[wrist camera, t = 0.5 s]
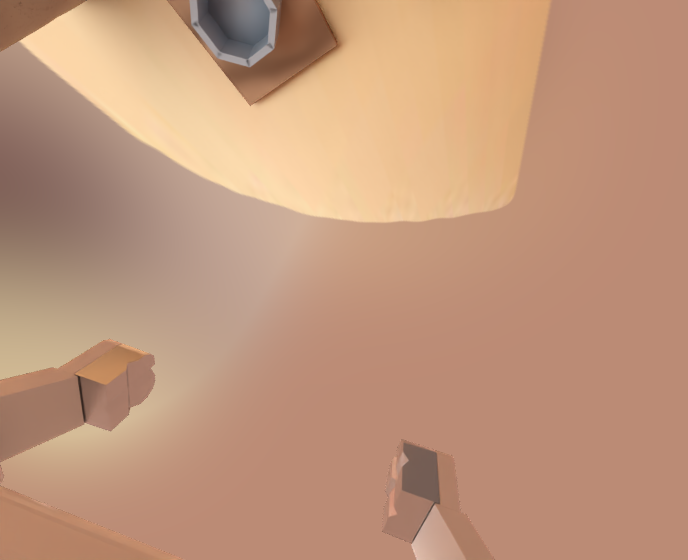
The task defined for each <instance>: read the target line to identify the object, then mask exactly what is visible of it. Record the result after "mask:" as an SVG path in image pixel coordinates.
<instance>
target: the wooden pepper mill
mask: <svg viewBox="0 0 688 560" xmlns="http://www.w3.org/2000/svg"><path fill="white" fill-rule="evenodd" d="M85 1H87V0H0V52H1V51H2V50H4V49H6V48H8V47H9V46H11V45H12V44H14V43H16V42H18V41H19V40H21V39H23V38H24V37H26V36H28V35H29V34H31V33H33V32H35V31H36V30H38V29H40V28H41V27H43V26H45V25H46V24H48V23H49V22H51V21H52V20H54V19H55V18H57V17H58V16H60V15H62V14H64V13H66V12H68V11H70V10H71V9H73V8H75V7H77V6H78V5H80V4H82V3H83V2H85Z"/></svg>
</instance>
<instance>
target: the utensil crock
mask: <svg viewBox="0 0 688 560" xmlns="http://www.w3.org/2000/svg"><path fill="white" fill-rule="evenodd" d="M189 1H190V13H191V25H192V26H193V28H194V29H195V30H196V32H197V33H198V34H199V35H200V37H201V38H202V39H203V41H204V42H205V43H206V44H207V46H208V47H209V48H210V49H211V51H212V52H213V53H214V55H215V56H216V57H217V58H218V59H221V60H225V61H229V62H232V63H236V64H240V65H243V66H247V67H251V66H252V65H254V64H255V63H256V62H258V61H259V60H260V59H262V58H263V57H264V56H265V55H267V54H268V53H269V52H271V51H272V50H273V49H274V48H275V44H276V41H277V38H278V35H279V27H280V16H281V5H282V0H189Z"/></svg>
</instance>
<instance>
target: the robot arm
mask: <svg viewBox="0 0 688 560" xmlns="http://www.w3.org/2000/svg"><path fill="white" fill-rule="evenodd" d="M154 364H155V361H154V356H153V355H151V354H149V353H147V352H144V351H141V350H139V349H136V348H133V347H130V346H128V345H125V344H122V343H119V342H116V341H113V340H111V339H108V340H103V341H102V342H100V343H98V344H97V345H95V346H93V347H92V348H90V349H89V350H87V351H85V352H84V353H82V354H81V355H79V356H77V357H76V358H74V359H72V360H71V361H69V362H68V363H66V364H64V365H63V366H61V367H59V368H58V369H56V368H48V369H44V370H40V371H36V372H31V373H27V374H23V375H19V376H15V377H10V378H6V379H2V380H0V462H2V461H4V460H6V459H8V458H11V457H13V456H15V455H17V454H19V453H22V452H24V451H26V450H28V449H31V448H33V447H35V446H37V445H40V444H42V443H44V442H46V441H48V440H50V439H53V438H55V437H57V436H59V435H62V434H64V433H66V432H68V431H71V430H73V429H75V428H77V427H79V426H81V425H84V423H87V424H90V425H93V426H96V427H99V428H102V429H105V430H108V431H112V430H113V429H114V428H115V427H116V426H117V425H118V424H119V423H120V422H121V421H122V420H124V419H125V418H126V417H127V416H128V415H129V410H130V407H133V406H136V405H139V404H141V403H142V402H143V401H144V400H145V399H146V398H147V397H148V395H149V394H150V392H151V390H152V389H153V386H154V382H155V375H154V373H153V371H152V370H151V367H152V366H153V365H154ZM3 478H4V475H3V472H2V468H1V465H0V483H1V482H2V481H3ZM385 492H386V494H387V496H388V499H387V501H386V503H385V506H384V512H383V524H382V532H384V533H387V534H389V535H392V536H394V537H396V538H399V539H402V540H404V541H407V542H409V543H411V544H412V548H413V551H414V554H415V556H416V559H417V560H495V559H494V557H493V556H492V554H491V553H490V551H489V549H488V548H487V546H486V545H485V543H484V541H483V540H482V538H481V537H480V535H479V534H478V532H477V530H476V529H475V527H474V526H473V524H472V523H471V521H470V519H469V518H468V516H467V515H466V514H464V513H461V509H460V501H459V493H458V485H457V478H456V470H455V463H454V458H453V456H452V455H449V454H445V453H443V452H440V451H436V450H434V449H430V448H428V447H425V446H421V445H419V444H416V443H412V442H409V441H406V440H403V439H402V440H401V441H400V443H399V445H398V447H397V456H395V457H393V459H392V461H391V464H390V467H389V471H388V475H387V481H386V489H385ZM0 560H185V559H182V558H180V557H177V556H175V555H172V554H170V553H167V552H165V551H162V550H160V549H157V548H155V547H152V546H150V545H147V544H145V543H142V542H140V541H137V540H135V539H132V538H130V537H127V536H125V535H122V534H119V533H117V532H115V531H112V530H110V529H107V528H105V527H102V526H100V525H97V524H95V523H92V522H90V521H87V520H85V519H82V518H80V517H77V516H75V515H72V514H70V513H67V512H65V511H62V510H60V509H57V508H55V507H52V506H50V505H47V504H45V503H42V502H40V501H37V500H35V499H32V498H30V497H27V496H25V495H22V494H20V493H17V492H15V491H12V490H10V489H7V488H5V487H2V486H0Z"/></svg>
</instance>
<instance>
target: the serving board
mask: <svg viewBox="0 0 688 560" xmlns="http://www.w3.org/2000/svg"><path fill="white" fill-rule="evenodd" d="M167 1H168V2H169V3H170V5H171V6H172V7H173V8H174V10H175V11H176V12H177V14H178V15H179V16H180V17H181V19H182V20H183V21H184V22H185V24H186V25H187V26H188V28H189V29H190V30H191V31H192V33H193V34H194V35H195V36H196V38H197V39H198V40H199V41H200V43H201V44H202V45H203V47H204V48H205V49H206V50H207V52H208V53H209V54H210V55H211V57H212V58H213V59H214V60H215V62H216V63H217V64H218V66H219V67H220V68H221V69H222V71H223V72H224V73H225V74H226V76H227V77H228V78H229V80H230V81H231V82H232V83H233V85H234V86H235V87H236V88H237V90H238V91H239V92H240V93H241V95H242V96H243V97H244V99H245V100H246V101H247V102H248V104H249V105H250V106H251V105H252V104H253V103H255V102H256V101H258V100H259V99H261V98H262V97H263V96H265V95H266V94H268V93H269V92H271V91H272V90H274V89H275V88H276V87H278V86H279V85H281V84H282V83H284V82H285V81H286V80H288V79H289V78H291V77H292V76H294V75H295V74H297V73H298V72H299V71H301V70H302V69H304V68H305V67H307V66H308V65H309V64H311V63H312V62H314V61H315V60H317V59H318V58H320V57H321V56H322V55H324V54H325V53H327V52H328V51H330V50H331V49H333V48H334V47H335V46H337V41H336V39H335V37H334V35H333V33H332V31H331V29H330V27H329V25H328V23H327V21H326V19H325V17H324V15H323V13H322V11H321V9H320V7H319V5H318V3H317V1H316V0H282V5H281V16H280V27H279V35H278V38H277V41H276V44H275V48H274V49H273V50H272V51H271V52H269V53H268V54H267V55H265V56H264V57H263V58H262V59H260V60H259V61H258V62H256V63H255V64H254V65H252V66H251V67H247V66H243V65H240V64H236V63H232V62H229V61H225V60H221V59H218V58H217V57H216V56H215V55H214V53H213V52H212V51H211V49H210V48H209V47H208V46H207V44H206V43H205V42H204V41H203V39H202V38H201V37H200V35H199V34H198V33H197V32H196V30H195V29H194V28H193V26H192V25H191V13H190V1H189V0H167Z"/></svg>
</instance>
